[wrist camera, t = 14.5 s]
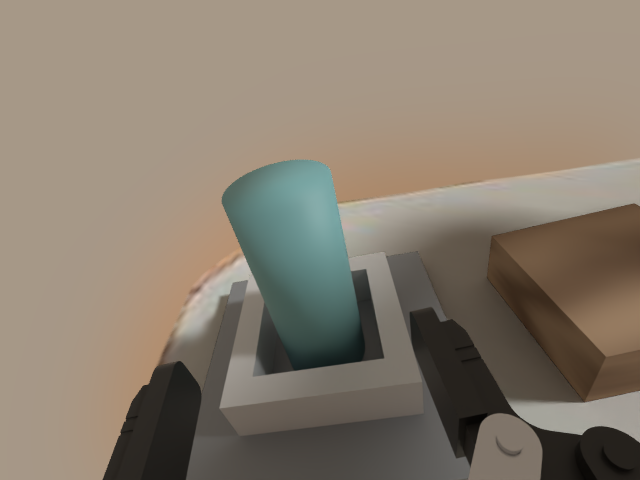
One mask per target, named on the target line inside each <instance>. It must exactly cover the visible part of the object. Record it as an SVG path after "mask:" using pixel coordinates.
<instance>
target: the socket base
mask: <svg viewBox="0 0 640 480" xmlns="http://www.w3.org/2000/svg"><path fill="white" fill-rule="evenodd" d="M348 260H349V265H350V270H351V275H352V280H353V285H354V290H355V295H356V300H357V305H358V310H359V315H360V320H361V325H362V330H363V335H364V340H365V353H364V356H363V359H362V361H361V362H355V363H348V364H341V365H334V366H327V367H319V368H312V369H305V370H298V371H295V370H294V369H293V367H292V365H291V362H290V360H289V358H288V355H287V353H286V351H285V348H284V346H283V344H282V341H281V339H280V337H279V335H278V332H277V330H276V328H275V325H274V323H273V321H272V318H271V316H270V314H269V311H268V309H267V307H266V304H265V302H264V300H263V297H262V295H261V293H260V290H259V288H258V286H257V283H256V281H255V279H254V276H253V274H251V275H249V279H248V280H246V281H241V282H235V283H233V284H232V288H231V291H230V295H229V298H228V302H227V305H226V309H225V313H224V316H223V320H222V323H221V327H220V331H219V334H218V338H217V341H216V345H215V349H214V352H213V356H212V359H211V363H210V367H209V370H208V374H207V377H206V381H205V385H204V388H203V392H202V395H201V406H200V411H199V416H198V421H197V426H196V431H195V436H194V441H193V446H192V451H191V456H190V461H189V466H188V471H187V477H186V480H468V477H469V473H470V466H469V463H468V461H467V458H466V457H461V458H457V459H456V457H455V454H454V452H453V449H452V447H451V444H450V442H449V439H448V437H447V434H446V432H445V429H444V427H443V424H442V422H441V419H440V417H439V414H438V412H437V409H436V407H435V404H434V402H433V399H432V396H431V394H430V391H429V389H428V386H427V384H426V381H425V379H424V376H423V374H422V371H421V369H420V366H419V364H418V361H417V359H416V356H415V353H414V350H413V346H412V341H411V329H410V311H415V310H419V309H424V308H428V307H432V308H433V309H434V311H435V312H436V314H437V316H438V318H439V320H440V322H442V321H447V319H446V317H445V315H444V312H443V310H442V308H441V305H440V303H439V300H438V298H437V296H436V293H435V291H434V289H433V286H432V284H431V282H430V279H429V277H428V274H427V272H426V270H425V267H424V265H423V263H422V260H421V258H420V256H419V253H418V251H416V252H410V253H404V254H398V255H393V256H387V257H386V255H385V252H378V253H373V254H367V255H361V256H355V257H349V258H348Z"/></svg>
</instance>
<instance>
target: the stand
mask: <svg viewBox="0 0 640 480" xmlns="http://www.w3.org/2000/svg"><path fill="white" fill-rule="evenodd" d="M487 278H488V280H489V281H490V282H491V283H492V285H493V286H494V287H495V289H496V290H497V291H498V292H499V294H500V295H501V296H502V297H503V299H504V300H505V301H506V303H507V304H508V305H509V306H510V308H511V309H512V310H513V311H514V313H515V314H516V315H517V317H518V318H519V319H520V320H521V322H522V323H523V324H524V326H525V327H526V328H527V329H528V331H529V332H530V333H531V334H532V336H533V337H534V338H535V340H536V341H537V342H538V343H539V345H540V346H541V347H542V349H543V350H544V351H545V352H546V354H547V355H548V356H549V357H550V359H551V360H552V361H553V363H554V364H555V365H556V366H557V368H558V369H559V370H560V372H561V373H562V374H563V375H564V377H565V378H566V379H567V380H568V382H569V383H570V384H571V386H572V387H573V388H574V389H575V391H576V392H577V393H578V394H579V396H580V397H581V398H582V400H583V401H584V402H588V401H592V400H597V399H602V398H606V397H611V396H616V395H621V394H625V393H630V392H635V391H639V390H640V206H638V205H636V204H630V205H625V206H621V207H616V208H612V209H608V210H603V211H599V212H595V213H590V214H586V215H582V216H577V217H573V218H568V219H564V220H560V221H555V222H551V223H547V224H542V225H538V226H533V227H529V228H525V229H520V230H516V231H512V232H507V233H503V234H499V235H494V236H492V238H491V247H490V256H489V264H488V273H487Z"/></svg>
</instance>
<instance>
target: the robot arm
mask: <svg viewBox="0 0 640 480" xmlns="http://www.w3.org/2000/svg"><path fill="white" fill-rule="evenodd" d="M410 329H411V341H412V346H413V350H414V353H415V356H416V359H417V361H418V364H419V366H420V369H421V371H422V374H423V376H424V379H425V381H426V384H427V386H428V389H429V391H430V394H431V396H432V399H433V402H434V404H435V407H436V409H437V412H438V414H439V417H440V419H441V422H442V424H443V427H444V429H445V432H446V434H447V437H448V439H449V442H450V444H451V447H452V449H453V452H454V454H455V457H456V459H457V458H461V457H466V458H467V461H468V463H469V466H470V473H469V477H468V480H640V443H639V442H638V441H637V440H635V439H634V438H632V437H631V436H629V435H628V434H626V433H624V432H622V431H619V430H617V429H614V428H610V427H604V426H597V427H592V428H590V429H588V430H586V431H585V432H584V433H583V435H577V434H570V433H562V432H555V431H549V430H544V429H541V428H538V427H535V426H533V425H531V424H529V423H528V422H526V421H525V420H523V419H522V418H520V417H519V416H518V415H517V414H516V413H515V412H514V411H513V409H512V408H511V407H510V405H509V404H508V402H507V400H506V399H505V397H504V395H503V393H502V392H501V390H500V388H499V387H498V385H497V383H496V381H495V380H494V378H493V376H492V375H491V373H490V371H489V370H488V368H487V366H486V364H485V363H484V361H483V360H482V359H481V356H480V354H479V352H478V351H477V349H476V348H475V347H474V344H473V342H472V340H471V339H470V337H469V335H468V334H467V332H466V330H464V329H463V328H462V327H461V326H460V325H458V324H457V323H456V322H455V321H453V320H447V321H442V322H440V320H439V318H438V316H437V314H436V312H435V311H434V309H433V308H432V307H428V308H424V309H419V310H415V311H410ZM200 406H201V390H200V386H199V384H198V383H197V381H196V380H195V379H194V377H193V376H192V375H191V373H190V372H189V371H188V369H187V368H186V366H185V365H184V364H183V363H182V362H181V361H178V362H173V363H169V364H164V365H160V366H157V367H156V368H155V370H154V372H153V374H152V377H151V380H150V383H149V385H144V386H143V387H142V388H141V390H140V391H139V392H138V394H137V395H136V397H135V398H134V399H133V401H132V403H131V406H130V408H129V411H128V413H127V416H126V422H124V424H123V427H122V429H121V435H120V436H119V438H118V440H117V443H116V446H115V448H114V451H113V454H112V456H111V459H110V462H109V464H108V467H107V470H106V472H105V475H104V478H103V480H186V477H187V471H188V466H189V461H190V456H191V451H192V446H193V441H194V436H195V431H196V426H197V421H198V416H199V411H200Z"/></svg>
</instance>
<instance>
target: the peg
mask: <svg viewBox="0 0 640 480" xmlns="http://www.w3.org/2000/svg"><path fill="white" fill-rule="evenodd" d="M222 204H223V207H224V209H225V211H226V213H227V216H228V218H229V221H230V223H231V225H232V228H233V230H234V232H235V234H236V237H237V239H238V242H239V244H240V246H241V249H242V251H243V253H244V256H245V258H246V260H247V263H248V265H249V267H250V270H251V272H252V274H253V276H254V279H255V281H256V283H257V286H258V288H259V290H260V293H261V295H262V297H263V300H264V302H265V304H266V307H267V309H268V311H269V314H270V316H271V318H272V321H273V323H274V325H275V328H276V330H277V332H278V335H279V337H280V339H281V341H282V344H283V346H284V348H285V351H286V353H287V355H288V358H289V360H290V362H291V365H292V367H293V369H294V370H295V371H298V370H305V369H312V368H319V367H327V366H334V365H341V364H348V363H355V362H361V361H362V359H363V356H364V353H365V340H364V335H363V330H362V325H361V320H360V315H359V310H358V305H357V300H356V295H355V290H354V285H353V280H352V275H351V270H350V265H349V260H348V255H347V250H346V245H345V240H344V235H343V230H342V225H341V220H340V215H339V210H338V205H337V200H336V195H335V190H334V185H333V180H332V175H331V171H330V169H329V168H328V167H327V166H326V165H325V164H322V163H321V162H317V161H313V160H290V161H284V162H278V163H274V164H271V165H267V166H264V167H261V168H259V169H256V170H254V171H252V172H250V173H247V174H246V175H244V176H242V177H240V178H239V179H237V180H236V181H235V182H233V183H232V184H231V185H230V186H229V187H228V188H227V189H226V191H225V192H224V194H223V196H222Z"/></svg>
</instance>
